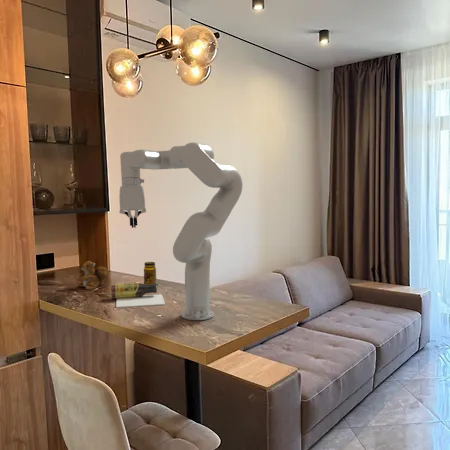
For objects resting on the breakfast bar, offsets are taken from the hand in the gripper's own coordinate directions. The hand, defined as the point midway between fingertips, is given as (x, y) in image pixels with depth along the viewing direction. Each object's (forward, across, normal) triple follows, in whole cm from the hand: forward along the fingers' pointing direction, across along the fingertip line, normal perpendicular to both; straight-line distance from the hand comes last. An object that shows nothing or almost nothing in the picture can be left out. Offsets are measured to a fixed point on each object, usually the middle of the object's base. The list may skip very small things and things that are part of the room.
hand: (133, 227), depth 173 cm
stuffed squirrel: (+32, +21, -42) cm, 57 cm away
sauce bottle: (+29, +11, -15) cm, 35 cm away
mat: (+33, -1, -8) cm, 34 cm away
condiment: (+33, -7, -37) cm, 50 cm away
